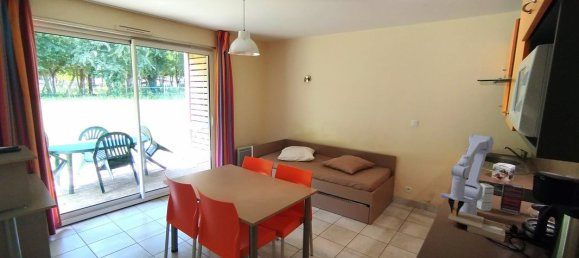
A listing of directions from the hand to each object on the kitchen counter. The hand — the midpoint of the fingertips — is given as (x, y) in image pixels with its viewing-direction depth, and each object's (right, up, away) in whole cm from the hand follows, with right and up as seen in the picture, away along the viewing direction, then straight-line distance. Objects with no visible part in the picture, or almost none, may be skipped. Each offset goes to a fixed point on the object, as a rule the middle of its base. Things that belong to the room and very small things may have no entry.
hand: (454, 213), depth 137 cm
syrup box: (+27, -3, +17) cm, 32 cm away
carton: (+10, -6, -8) cm, 14 cm away
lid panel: (+4, -2, -3) cm, 5 cm away
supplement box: (+40, -4, +14) cm, 43 cm away
